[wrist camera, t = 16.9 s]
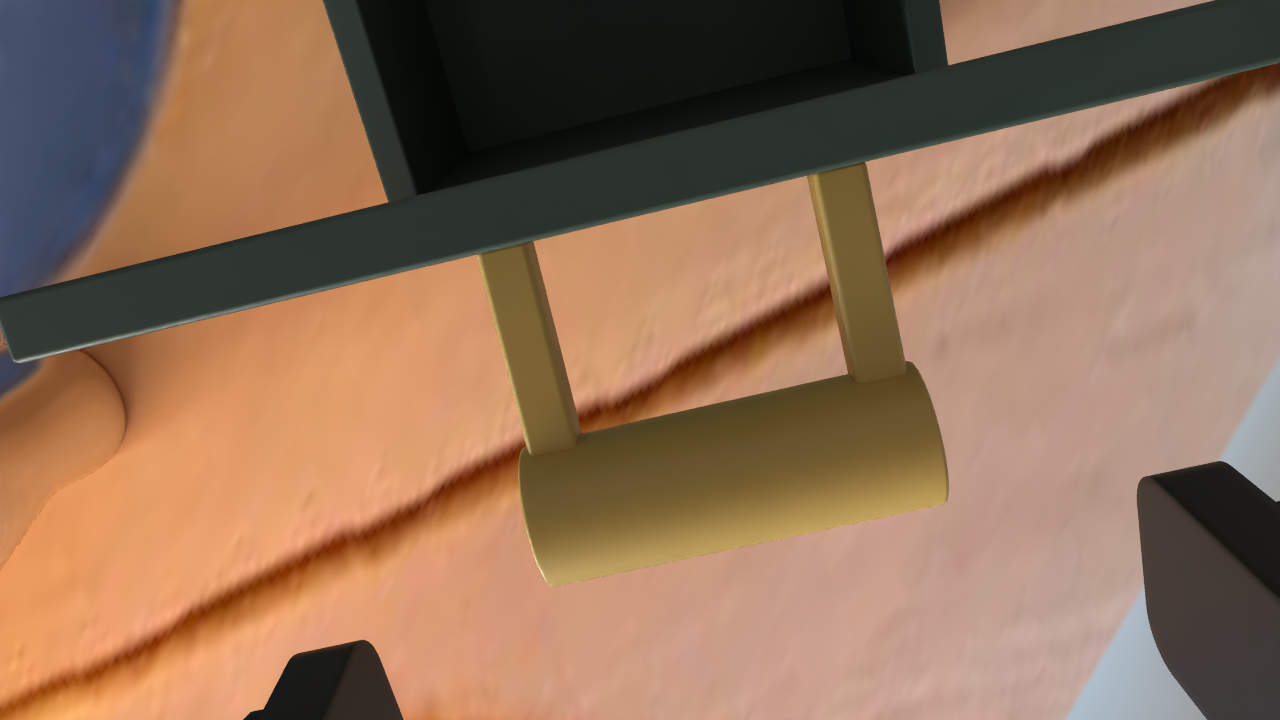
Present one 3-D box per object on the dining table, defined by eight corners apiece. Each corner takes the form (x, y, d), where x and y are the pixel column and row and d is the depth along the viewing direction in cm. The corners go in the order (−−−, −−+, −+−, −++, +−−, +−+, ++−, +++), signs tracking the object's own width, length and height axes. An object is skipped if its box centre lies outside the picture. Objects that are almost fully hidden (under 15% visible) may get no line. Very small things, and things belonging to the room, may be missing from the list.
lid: (-12, 299, 12) (136, 734, 13) (1382, -41, 11) (1440, 464, 12) (392, 228, 29) (444, 418, 30) (955, 91, 28) (993, 294, 29)
